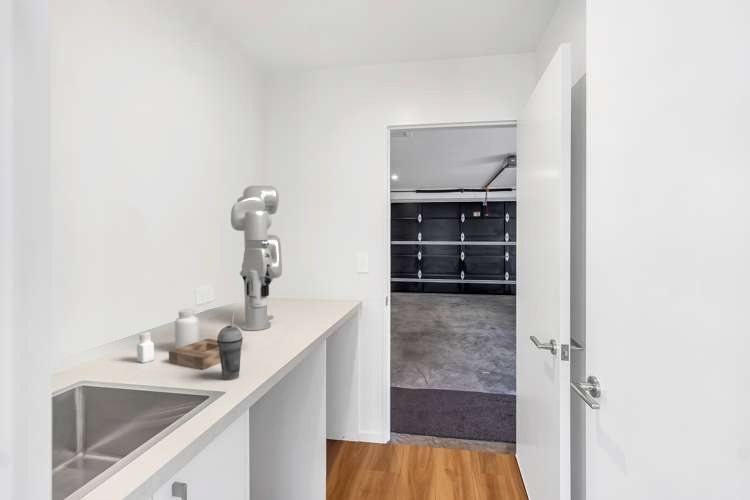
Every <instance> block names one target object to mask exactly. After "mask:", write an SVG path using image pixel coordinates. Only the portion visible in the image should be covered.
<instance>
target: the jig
mask: <svg viewBox="0 0 750 500" xmlns="http://www.w3.org/2000/svg"><path fill="white" fill-rule="evenodd" d="M168 362H169V364H174V365H178V366H183V367H188V368H192V369H198V370H202V371H203V370H205V369H206V370H207V369H209V368H211V367H213V366H216V365H218V364H221V360H220V352H219V347H218V342H217V339H214V338H206V339H201V340H199V342H196V343H192V344H189V345H186V346H183V347H180V348H177V349H176V348H174V349H171V350H168Z"/></svg>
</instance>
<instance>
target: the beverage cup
mask: <svg viewBox="0 0 750 500" xmlns="http://www.w3.org/2000/svg"><path fill="white" fill-rule="evenodd" d="M234 317H235V310H232V314H231V324H230V325H227V326H224V327H222V329H221V330H220V331H219V333H218V334H217V339H216V340H217V342H218V347H219V352H220V360H221V363H220V365H221V374H222V379H223V380H224V381H232V380H237V379H238V378H240V369H241V354H242V345H243V340H244V338H243V333H242V331H241V330H240V328H239V327H237V326H236V325H235V326H234Z"/></svg>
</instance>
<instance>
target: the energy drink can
mask: <svg viewBox="0 0 750 500" xmlns="http://www.w3.org/2000/svg"><path fill="white" fill-rule="evenodd" d="M265 276H266V275H265ZM248 277H249V306H250V307H251V309H263V308H265V306H266V305H268V304H267V301H268V298H267V297H268V296H265V297H262V296H261V286H262V285H263V284H262V281H261V278H260V277H258V273H257V271H256V270H255V269H254V268H251V269H250V270H249V271H248ZM265 281H266V279H265Z"/></svg>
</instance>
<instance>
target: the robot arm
mask: <svg viewBox="0 0 750 500" xmlns="http://www.w3.org/2000/svg"><path fill="white" fill-rule="evenodd" d="M279 196H280V195H279V192H278V190H277V188H276V187H275V186H271V185H249V186H247V187H246V188H244V190H243V192H242V196H241V197H238V198H237V200H236V203H234V204H233V206H232V207H231V211H230V225H231V227H232V228H233V230H235V231H238V232H239V231H241V232H243V233H244V235H243V236H244V240H243V242H244V251H243V260H242V264H241V271H240V272H239V275H240V276H241V278H242V280H243V288H244V318H245V320H244V322H245V323H244V324H242V325H241V329H242V330H243V331H250V332H252V331H261V330H266V329H269V328H271V327H272V323H270V322H269V321H271V320H273V319H274V315H273V314H271V315H268V307H267V305H268V304H267V305H266V306H265V308H263V309H251V307H250V306H249V277H248V271H249V270H250V269H251V268H254V269H255V270H256V271H257V273H258V277H260V278H261V281H262V284H263V285H262V286H261V296H262V297H265V296H267V297H268V296H270V285H271V283H272V282H273V280H274V279H278V278H280V277H281V276H282V274H283V263H282V262H283V261H282V247H281V240H280V238H279V236H278V235H276V234H268V230H269V228H270V227H271V226H272V215H275V214H276V213H277V210H278V206H279V201H280V200H279V199H280V198H279ZM265 275H266V276H265ZM265 279H266V281H265Z"/></svg>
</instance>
